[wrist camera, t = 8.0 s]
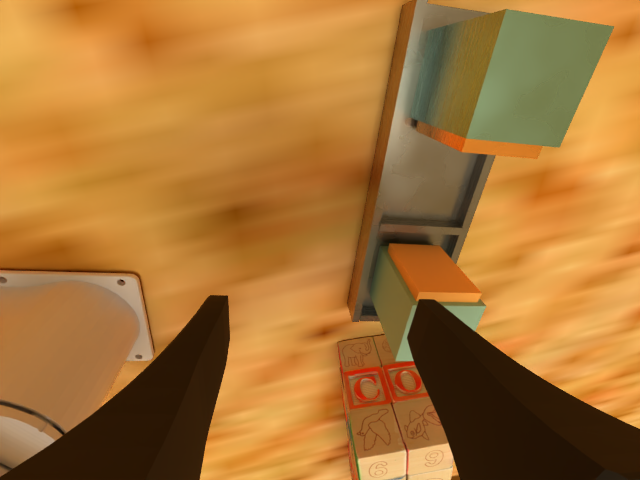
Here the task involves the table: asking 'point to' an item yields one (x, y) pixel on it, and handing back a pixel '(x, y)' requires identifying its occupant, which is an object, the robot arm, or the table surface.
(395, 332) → the toy block
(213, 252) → the table surface
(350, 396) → the stack of blocks
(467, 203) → the rail
